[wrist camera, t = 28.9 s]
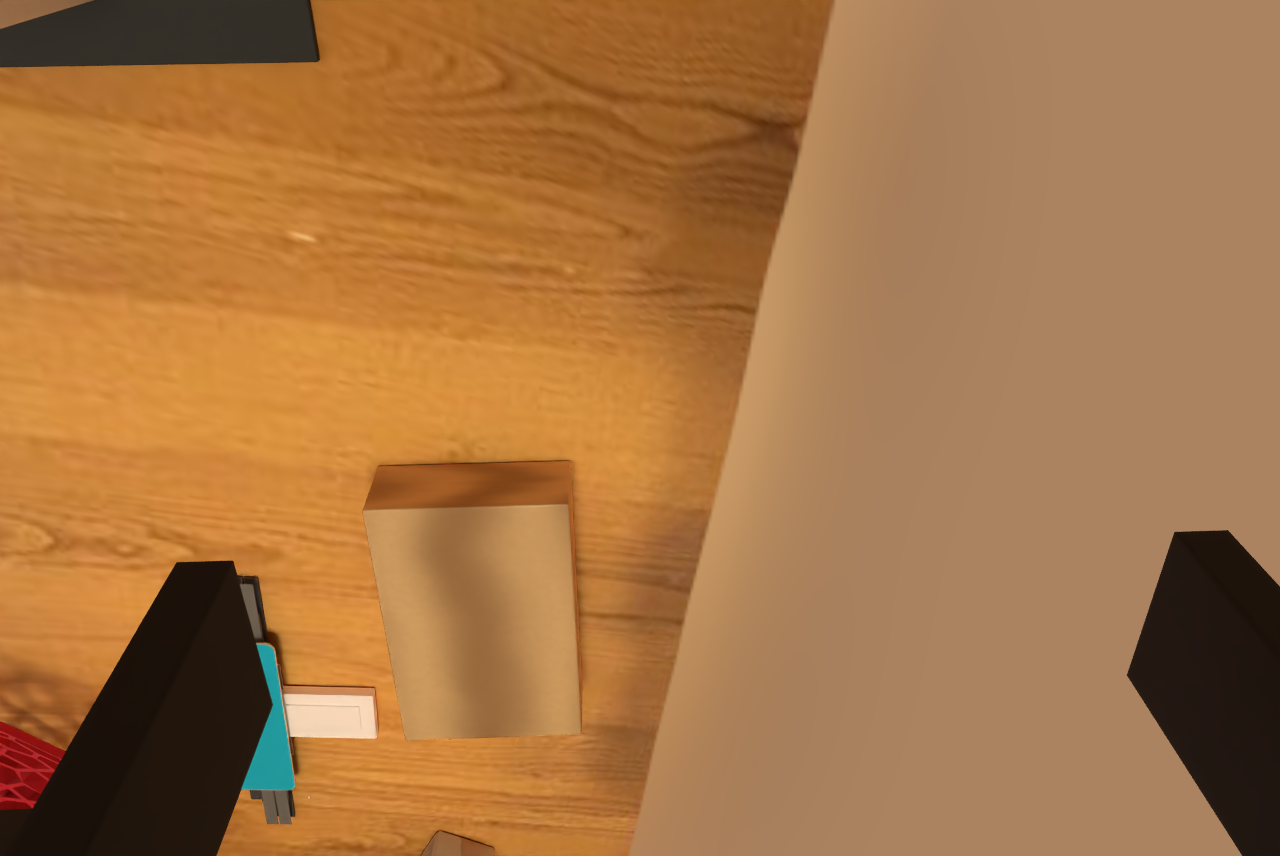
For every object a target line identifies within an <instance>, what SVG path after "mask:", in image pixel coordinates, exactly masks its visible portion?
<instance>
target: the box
mask: <svg viewBox="0 0 1280 856" xmlns="http://www.w3.org/2000/svg"><path fill="white" fill-rule="evenodd" d="M421 856H494V848H492V847H489V846H486V845H483V844H480V843H477V842H474V841H470V840H467V839H464V838H461V837H458V836H454V835H451V834H448V833H445V832H442V831H439V832H437V833H436V834H435V836H434V837H433V839H432V840H431V841H430V843H429V844H428V846H427V847H426V849H425V850H424V852H423V854H422V855H421Z"/></svg>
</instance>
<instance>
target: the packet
mask: <svg viewBox="0 0 1280 856" xmlns="http://www.w3.org/2000/svg"><path fill="white" fill-rule="evenodd" d="M89 1H93V0H0V29H1V28H5V27H8V26H11V25H15V24H18V23H21V22H24V21H28V20H31V19H34V18H37V17H41V16H44V15H47V14H50V13H54V12H57V11H60V10H63V9H67V8H70V7H73V6H76V5H80V4H83V3H86V2H89Z"/></svg>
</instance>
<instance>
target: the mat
mask: <svg viewBox="0 0 1280 856" xmlns="http://www.w3.org/2000/svg"><path fill="white" fill-rule="evenodd" d="M319 60H320V58H319V52H318V46H317V40H316V34H315V28H314V22H313V16H312V10H311V4H310V0H93V1H89V2H86V3H83V4H80V5H76V6H73V7H70V8H67V9H63V10H60V11H57V12H54V13H50V14H47V15H44V16H41V17H37V18H34V19H31V20H28V21H24V22H21V23H18V24H15V25H11V26H8V27H5V28H1V29H0V67H43V66H104V65H166V64H227V63H288V62H318V61H319Z"/></svg>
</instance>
